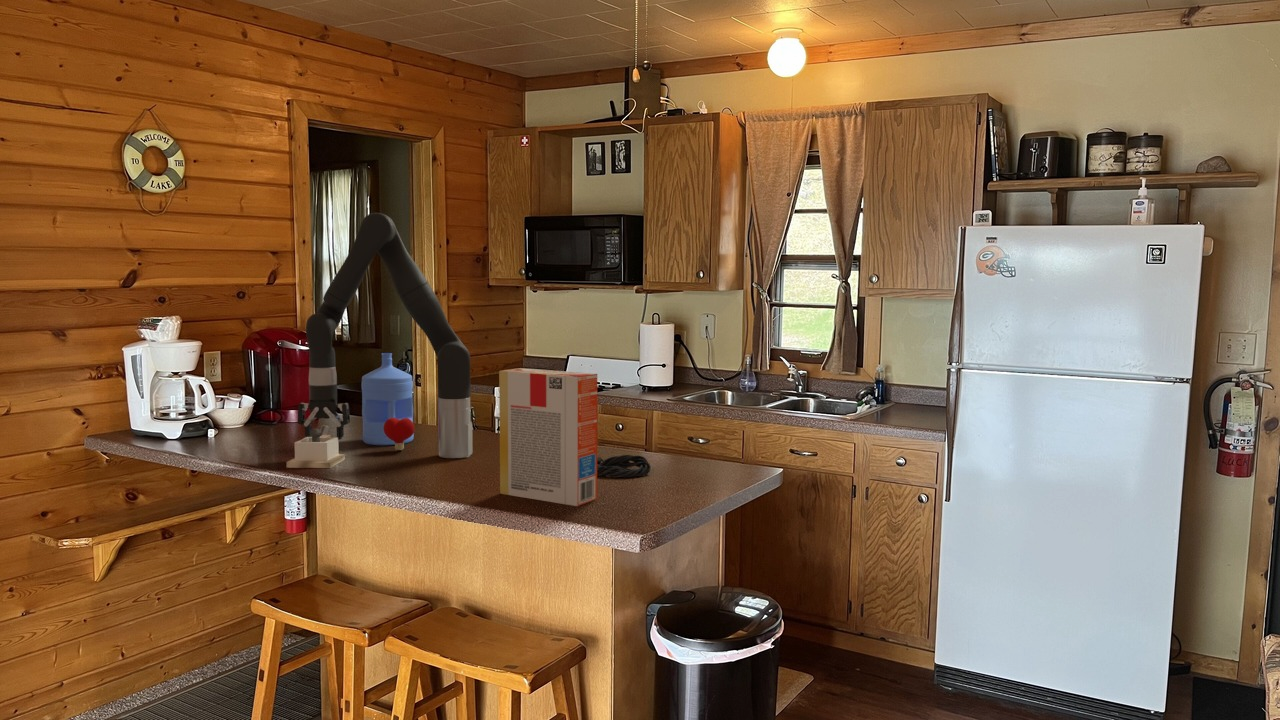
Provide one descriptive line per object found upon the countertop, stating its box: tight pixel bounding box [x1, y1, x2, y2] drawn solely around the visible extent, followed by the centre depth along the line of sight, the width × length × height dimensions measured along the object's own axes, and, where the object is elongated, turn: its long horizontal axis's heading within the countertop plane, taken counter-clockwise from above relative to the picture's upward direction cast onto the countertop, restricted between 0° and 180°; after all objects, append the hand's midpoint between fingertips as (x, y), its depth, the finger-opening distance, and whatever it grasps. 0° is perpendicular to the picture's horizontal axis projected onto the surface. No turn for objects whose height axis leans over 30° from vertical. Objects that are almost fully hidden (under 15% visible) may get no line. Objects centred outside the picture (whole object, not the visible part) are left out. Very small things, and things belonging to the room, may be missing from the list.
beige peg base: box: [286, 428, 346, 469], centre depth 258 cm, size 12×12×10 cm
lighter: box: [319, 424, 330, 436], centre depth 273 cm, size 7×2×8 cm, turn 150°
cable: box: [597, 454, 651, 479], centre depth 249 cm, size 17×14×4 cm
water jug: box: [361, 352, 415, 446], centre depth 292 cm, size 16×16×28 cm
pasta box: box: [498, 367, 598, 507], centre depth 221 cm, size 23×8×30 cm, turn 59°
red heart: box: [384, 418, 416, 452], centre depth 277 cm, size 9×7×10 cm
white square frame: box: [294, 434, 340, 461], centre depth 261 cm, size 9×12×5 cm
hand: (324, 439), depth 265 cm, fingers open, 8 cm apart
